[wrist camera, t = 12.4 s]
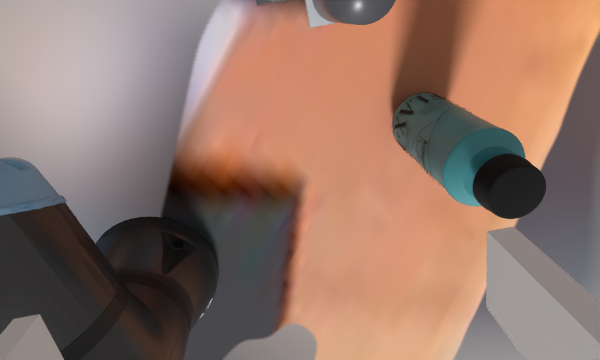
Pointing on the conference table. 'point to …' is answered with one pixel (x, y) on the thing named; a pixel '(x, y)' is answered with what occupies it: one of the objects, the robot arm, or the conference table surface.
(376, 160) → the conference table surface
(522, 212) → the beverage bottle
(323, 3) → the open tray with handle
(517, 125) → the conference table surface
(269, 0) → the bay
